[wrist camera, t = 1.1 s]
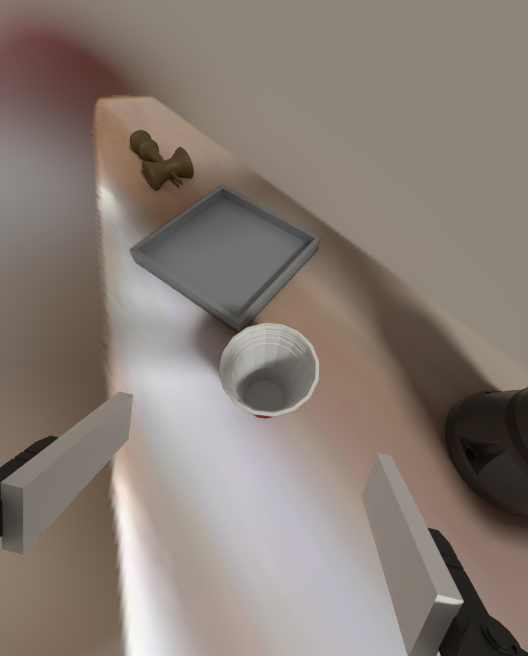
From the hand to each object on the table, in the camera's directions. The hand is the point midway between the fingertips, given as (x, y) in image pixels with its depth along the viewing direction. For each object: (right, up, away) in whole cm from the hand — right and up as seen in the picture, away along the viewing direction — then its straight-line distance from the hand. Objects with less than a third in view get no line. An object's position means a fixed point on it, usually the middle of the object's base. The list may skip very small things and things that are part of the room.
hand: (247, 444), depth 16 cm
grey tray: (-6, +20, +40) cm, 45 cm away
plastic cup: (+1, -4, +27) cm, 27 cm away
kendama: (-22, +41, +52) cm, 70 cm away
